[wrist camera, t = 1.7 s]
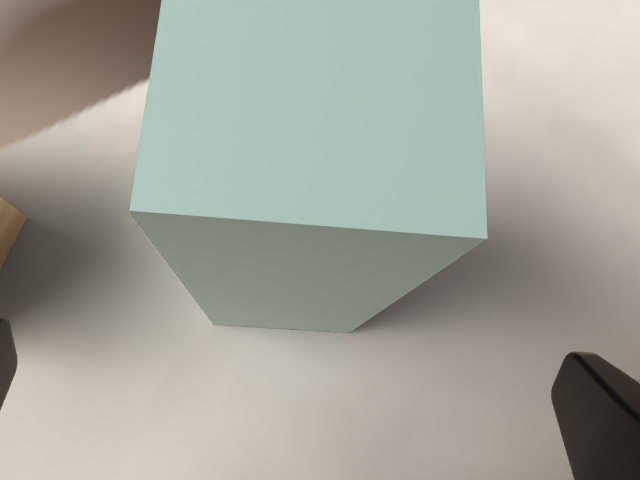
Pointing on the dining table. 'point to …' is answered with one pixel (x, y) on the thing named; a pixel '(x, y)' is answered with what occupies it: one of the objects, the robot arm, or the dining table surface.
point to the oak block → (9, 227)
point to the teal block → (312, 154)
